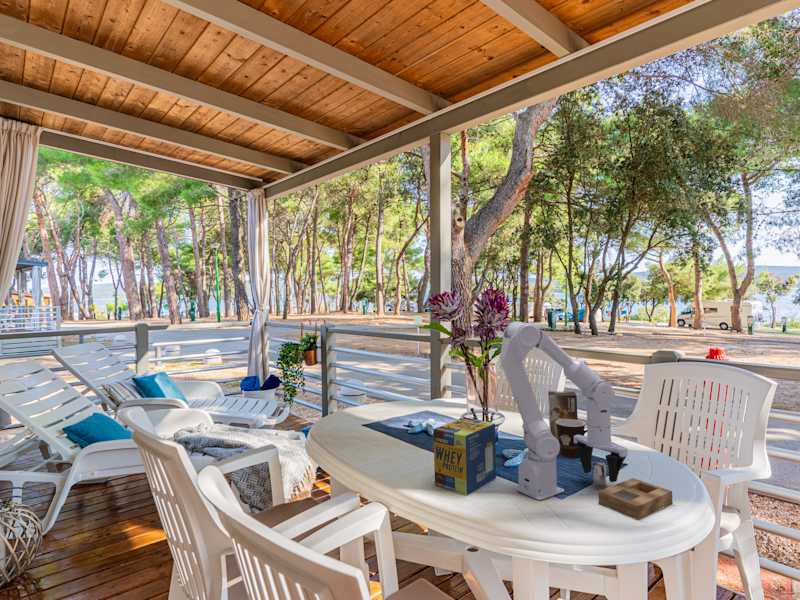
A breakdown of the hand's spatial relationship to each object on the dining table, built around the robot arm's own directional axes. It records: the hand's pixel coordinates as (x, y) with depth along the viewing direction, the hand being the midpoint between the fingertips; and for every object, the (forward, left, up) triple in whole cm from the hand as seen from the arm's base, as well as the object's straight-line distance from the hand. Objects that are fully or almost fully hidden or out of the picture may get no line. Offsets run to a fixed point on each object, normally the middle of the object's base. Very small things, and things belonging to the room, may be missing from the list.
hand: (600, 476), depth 125 cm
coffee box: (+25, +32, -3) cm, 41 cm away
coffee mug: (+14, +19, -3) cm, 24 cm away
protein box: (-26, +23, -3) cm, 35 cm away
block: (-2, -11, -3) cm, 11 cm away
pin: (0, 0, -3) cm, 3 cm away
